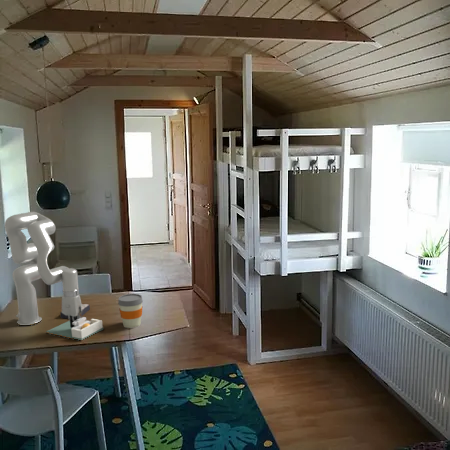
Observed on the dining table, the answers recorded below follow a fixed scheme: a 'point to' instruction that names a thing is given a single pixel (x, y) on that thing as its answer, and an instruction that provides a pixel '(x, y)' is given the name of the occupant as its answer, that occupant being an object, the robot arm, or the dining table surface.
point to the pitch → (67, 330)
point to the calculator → (84, 309)
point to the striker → (80, 323)
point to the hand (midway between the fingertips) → (73, 326)
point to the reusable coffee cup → (130, 309)
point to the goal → (87, 329)
